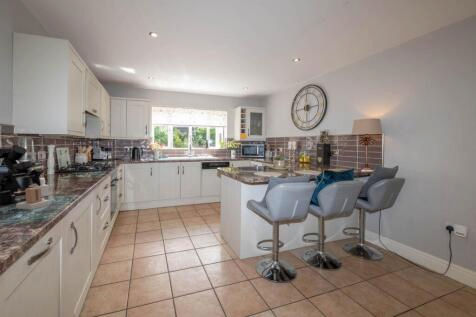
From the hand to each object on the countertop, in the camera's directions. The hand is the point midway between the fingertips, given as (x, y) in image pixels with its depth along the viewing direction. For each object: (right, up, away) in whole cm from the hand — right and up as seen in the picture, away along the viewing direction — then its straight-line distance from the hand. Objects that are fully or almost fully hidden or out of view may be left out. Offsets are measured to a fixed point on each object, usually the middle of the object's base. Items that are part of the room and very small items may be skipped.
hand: (30, 187), depth 122 cm
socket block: (+1, -11, 0) cm, 11 cm away
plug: (+1, -11, 0) cm, 11 cm away
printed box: (-15, -9, +22) cm, 28 cm away
